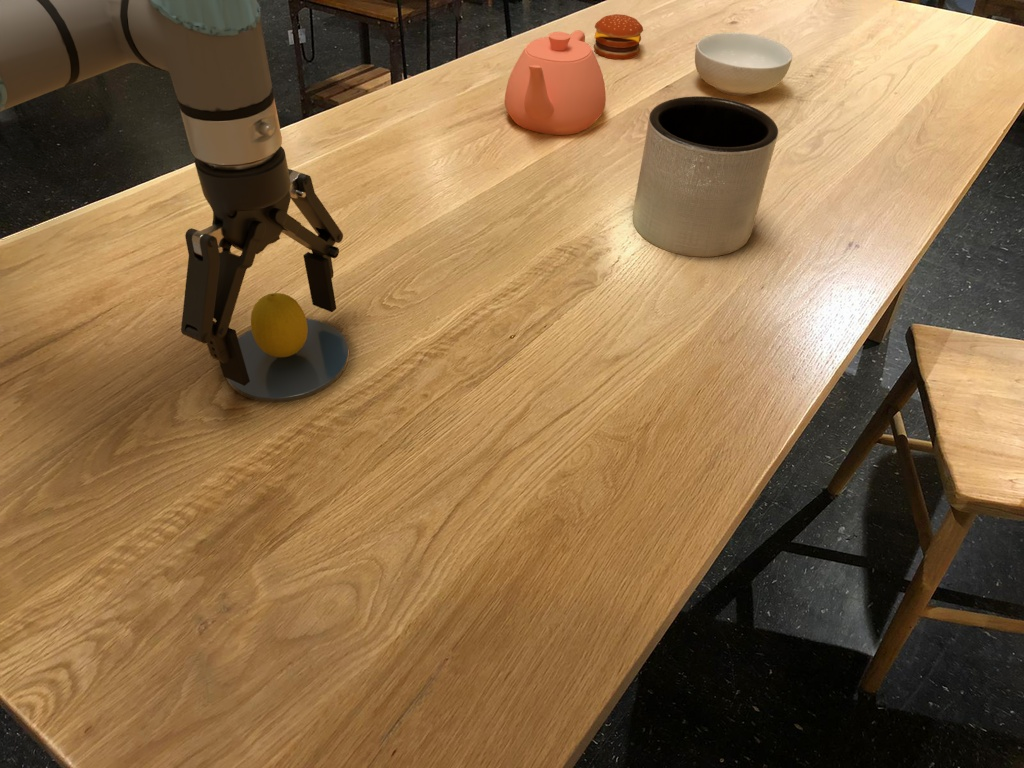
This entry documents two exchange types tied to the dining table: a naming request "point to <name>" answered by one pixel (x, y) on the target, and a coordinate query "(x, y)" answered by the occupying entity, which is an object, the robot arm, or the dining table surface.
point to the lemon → (279, 325)
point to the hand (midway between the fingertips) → (283, 341)
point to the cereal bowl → (741, 62)
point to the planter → (702, 175)
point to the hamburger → (617, 36)
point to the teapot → (556, 85)
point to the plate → (294, 366)
